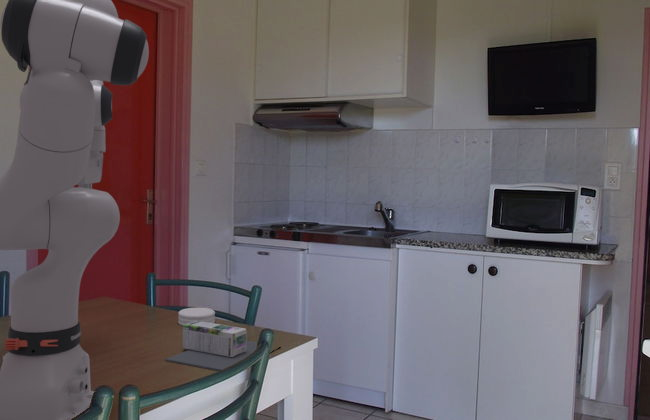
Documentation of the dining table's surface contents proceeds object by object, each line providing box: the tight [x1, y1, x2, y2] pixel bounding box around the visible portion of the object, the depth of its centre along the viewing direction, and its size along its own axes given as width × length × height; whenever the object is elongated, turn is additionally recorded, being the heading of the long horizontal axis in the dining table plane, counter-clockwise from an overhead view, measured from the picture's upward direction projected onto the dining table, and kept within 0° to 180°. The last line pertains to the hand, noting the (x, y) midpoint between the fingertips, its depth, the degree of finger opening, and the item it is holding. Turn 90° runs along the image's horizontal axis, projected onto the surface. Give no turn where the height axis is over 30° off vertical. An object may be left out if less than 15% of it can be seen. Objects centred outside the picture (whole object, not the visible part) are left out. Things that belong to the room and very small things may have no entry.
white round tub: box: [177, 307, 216, 327], centre depth 177 cm, size 10×10×4 cm
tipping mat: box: [164, 340, 258, 372], centre depth 149 cm, size 17×22×1 cm
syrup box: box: [182, 321, 248, 357], centre depth 150 cm, size 6×6×14 cm
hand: (85, 203), depth 148 cm, fingers closed
